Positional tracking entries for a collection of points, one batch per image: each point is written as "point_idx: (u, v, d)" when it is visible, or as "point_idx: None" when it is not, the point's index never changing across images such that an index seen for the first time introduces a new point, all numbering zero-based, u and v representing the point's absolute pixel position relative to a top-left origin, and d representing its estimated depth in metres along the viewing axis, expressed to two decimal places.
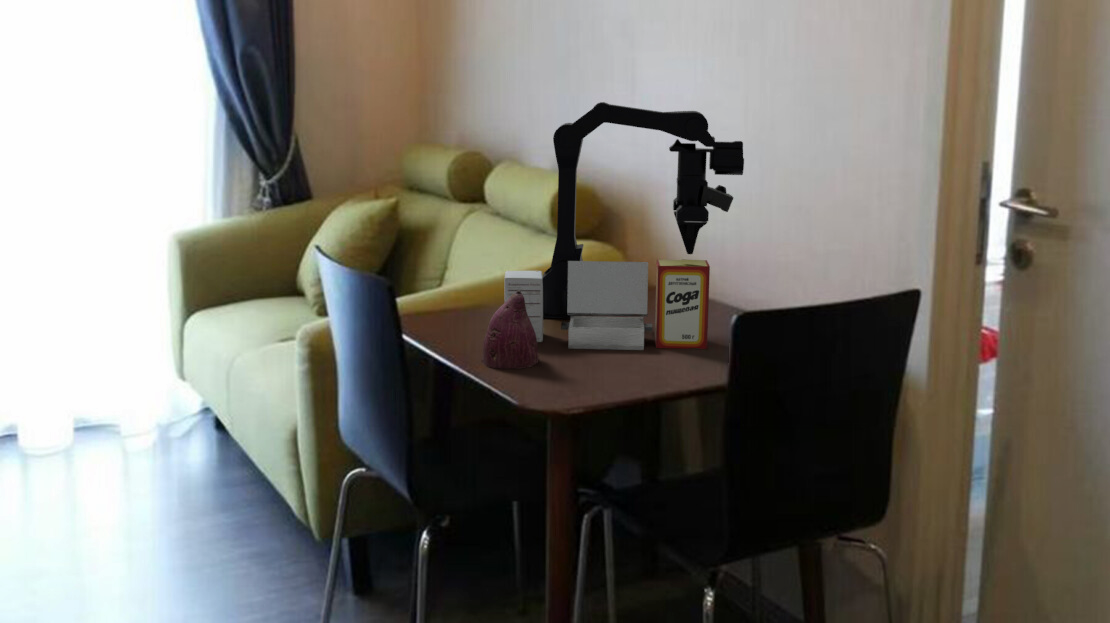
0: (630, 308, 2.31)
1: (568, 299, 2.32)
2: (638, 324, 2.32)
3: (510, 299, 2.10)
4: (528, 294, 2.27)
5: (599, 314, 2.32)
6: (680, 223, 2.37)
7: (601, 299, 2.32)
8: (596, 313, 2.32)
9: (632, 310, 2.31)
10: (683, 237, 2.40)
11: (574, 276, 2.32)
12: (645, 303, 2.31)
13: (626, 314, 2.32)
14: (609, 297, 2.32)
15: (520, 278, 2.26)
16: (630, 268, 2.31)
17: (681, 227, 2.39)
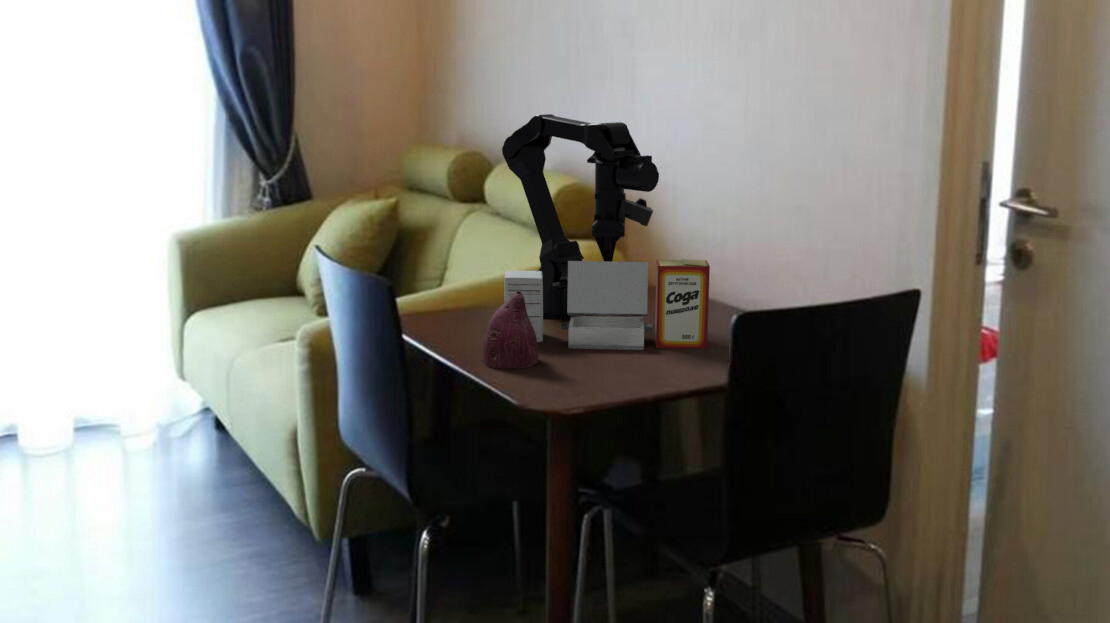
0: (630, 308, 2.31)
1: (568, 299, 2.32)
2: (638, 324, 2.32)
3: (510, 298, 2.10)
4: (528, 294, 2.27)
5: (599, 314, 2.32)
6: None
7: (601, 299, 2.32)
8: (596, 313, 2.32)
9: (632, 310, 2.31)
10: (601, 249, 2.36)
11: (574, 276, 2.32)
12: (645, 303, 2.31)
13: (626, 314, 2.32)
14: (609, 297, 2.32)
15: (520, 278, 2.26)
16: (630, 268, 2.31)
17: (598, 239, 2.35)
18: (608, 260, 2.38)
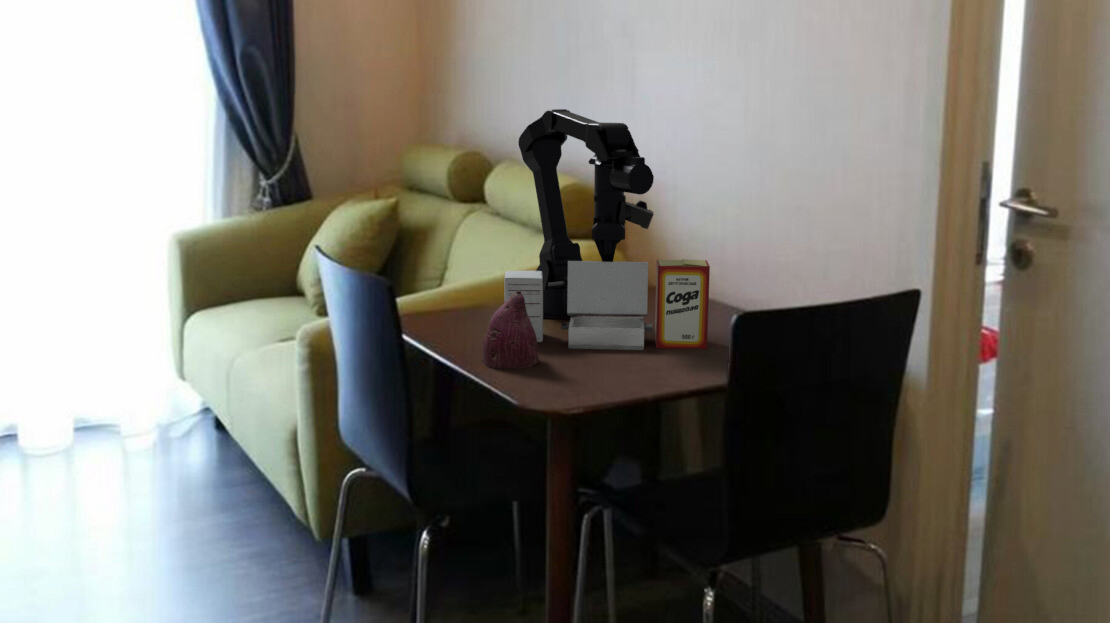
0: (630, 308, 2.31)
1: (568, 299, 2.32)
2: (638, 324, 2.32)
3: (510, 299, 2.10)
4: (528, 294, 2.27)
5: (599, 314, 2.32)
6: None
7: (601, 299, 2.31)
8: (596, 313, 2.32)
9: (632, 310, 2.31)
10: (600, 252, 2.31)
11: (573, 277, 2.31)
12: (645, 303, 2.31)
13: (626, 314, 2.32)
14: (609, 297, 2.31)
15: (520, 278, 2.26)
16: (630, 268, 2.30)
17: (598, 242, 2.30)
18: None
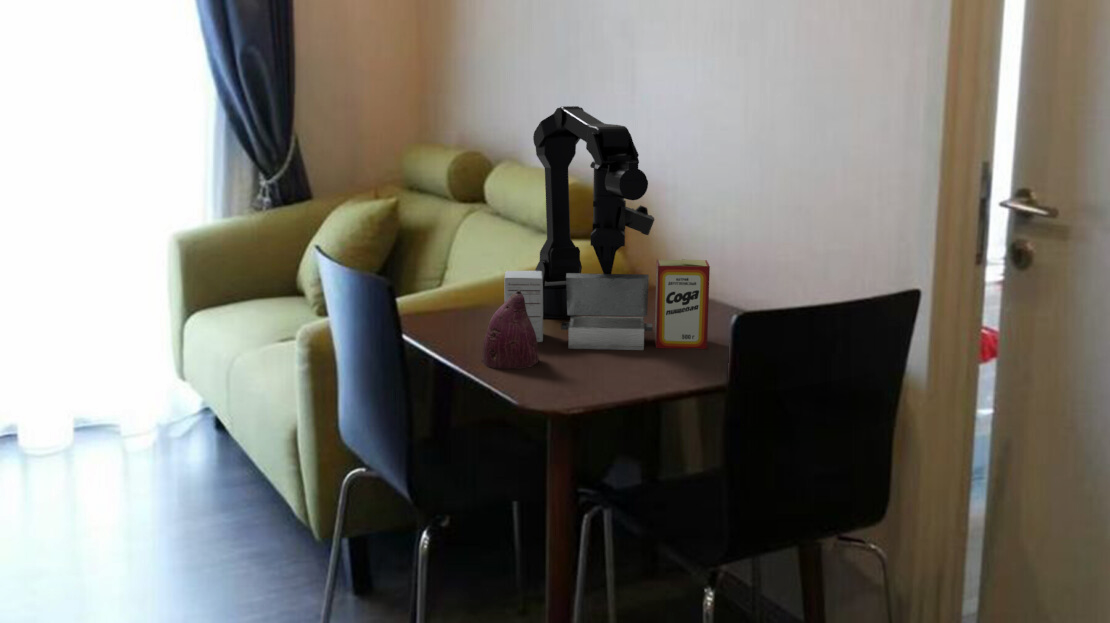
0: (630, 312, 2.31)
1: (568, 305, 2.30)
2: (638, 324, 2.32)
3: (510, 299, 2.10)
4: (528, 294, 2.27)
5: (599, 315, 2.32)
6: None
7: (601, 305, 2.30)
8: (596, 315, 2.32)
9: (632, 313, 2.31)
10: (599, 259, 2.25)
11: (572, 289, 2.27)
12: (645, 308, 2.30)
13: (626, 315, 2.32)
14: (609, 304, 2.30)
15: (520, 278, 2.26)
16: (630, 283, 2.25)
17: (597, 249, 2.24)
18: (607, 271, 2.26)
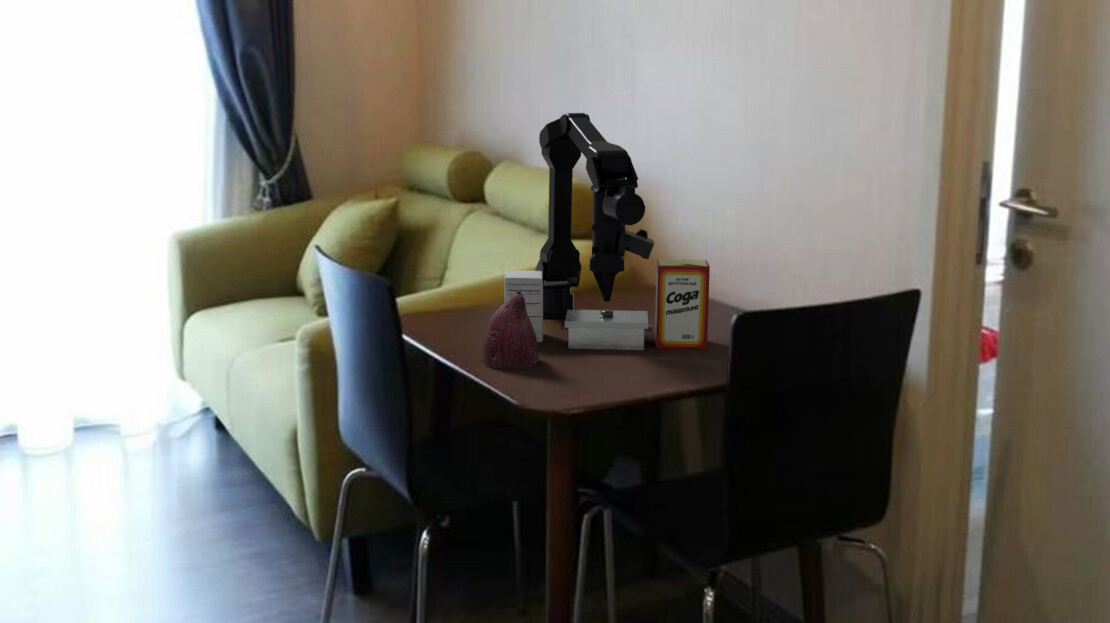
0: None
1: None
2: None
3: (510, 299, 2.10)
4: (528, 294, 2.27)
5: None
6: None
7: None
8: None
9: None
10: (599, 283, 2.22)
11: None
12: None
13: None
14: None
15: (520, 278, 2.26)
16: None
17: (596, 273, 2.21)
18: (607, 295, 2.23)
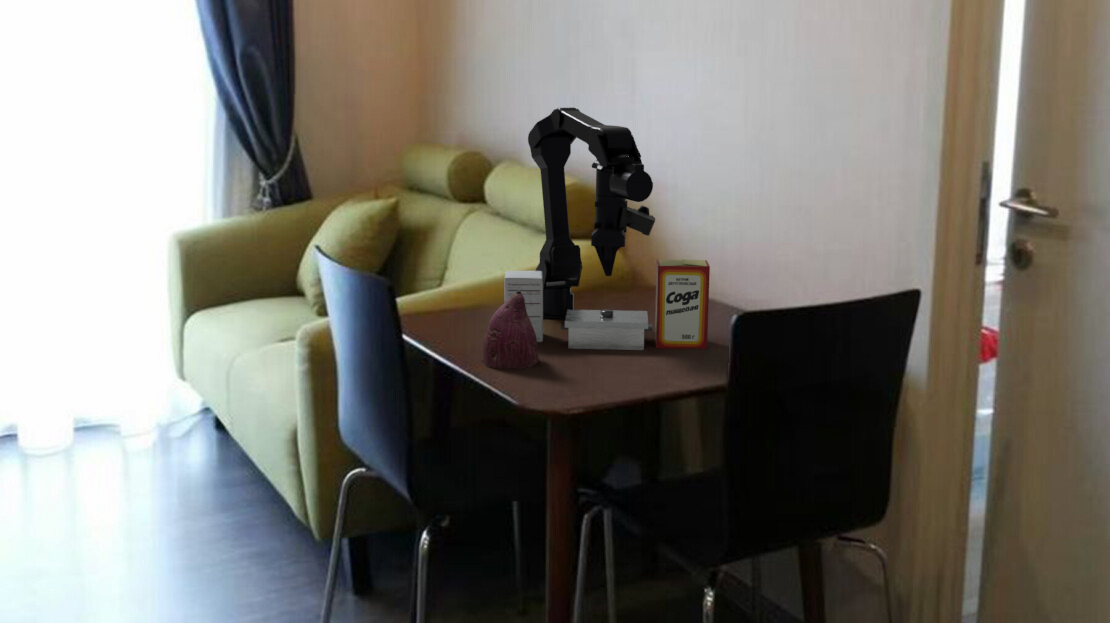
0: None
1: None
2: None
3: (510, 299, 2.10)
4: (528, 294, 2.27)
5: None
6: None
7: None
8: None
9: None
10: (600, 258, 2.28)
11: None
12: None
13: None
14: None
15: (520, 278, 2.26)
16: None
17: (598, 248, 2.27)
18: (608, 270, 2.29)
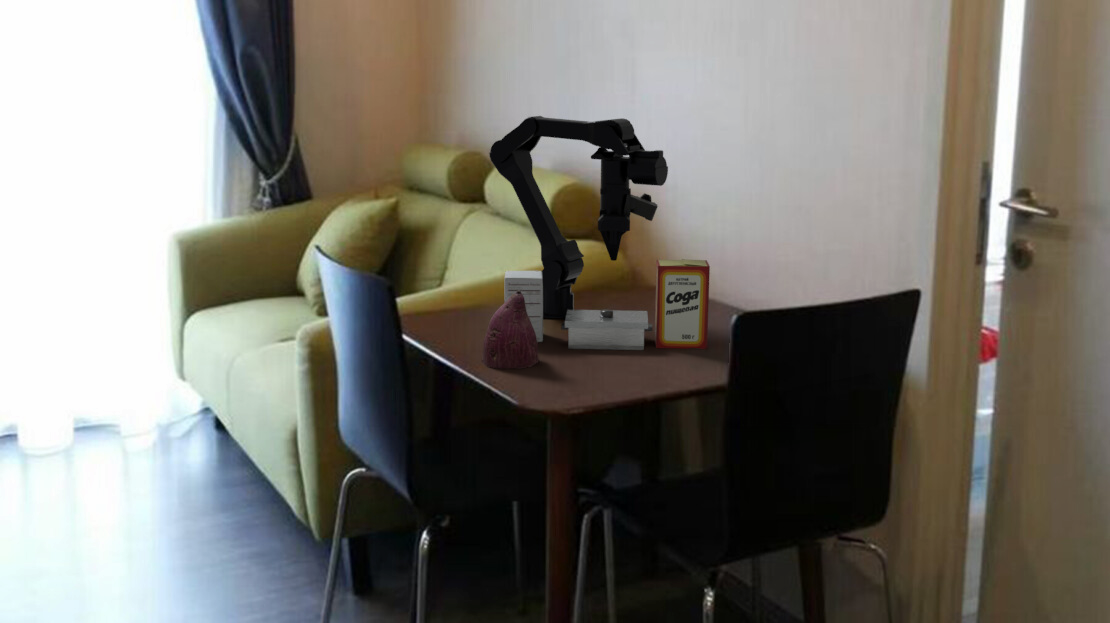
0: None
1: None
2: None
3: (510, 299, 2.10)
4: (528, 294, 2.27)
5: None
6: None
7: None
8: None
9: None
10: (606, 243, 2.40)
11: None
12: None
13: None
14: None
15: (520, 278, 2.26)
16: None
17: (604, 233, 2.39)
18: (613, 254, 2.41)
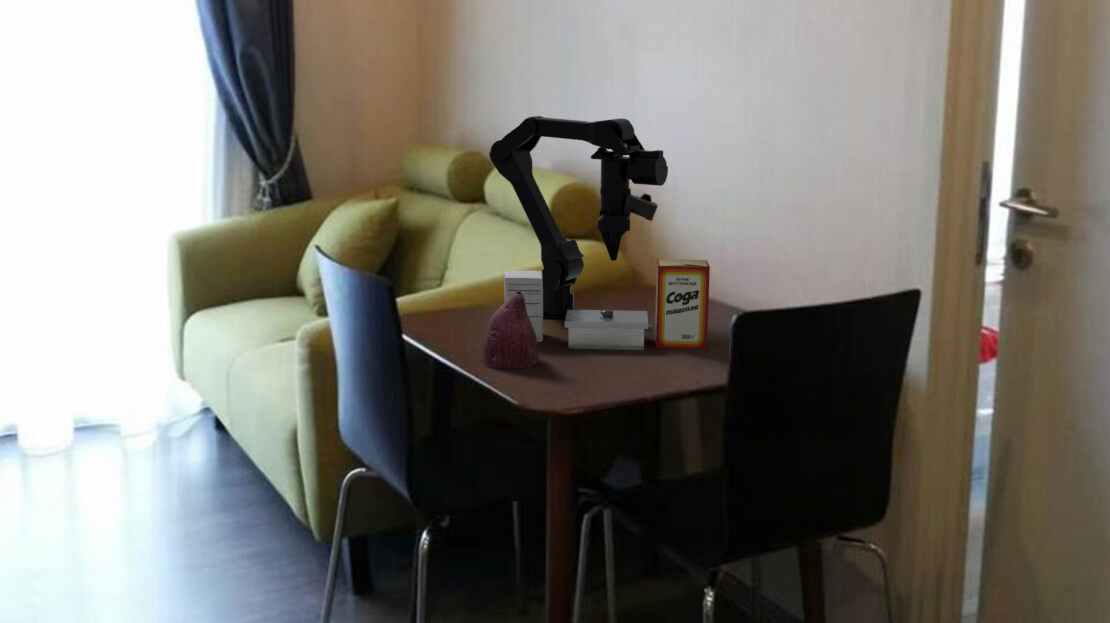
0: None
1: None
2: None
3: (510, 299, 2.10)
4: (528, 294, 2.27)
5: None
6: None
7: None
8: None
9: None
10: (606, 243, 2.40)
11: None
12: None
13: None
14: None
15: (520, 278, 2.26)
16: None
17: (604, 233, 2.39)
18: (613, 254, 2.41)
